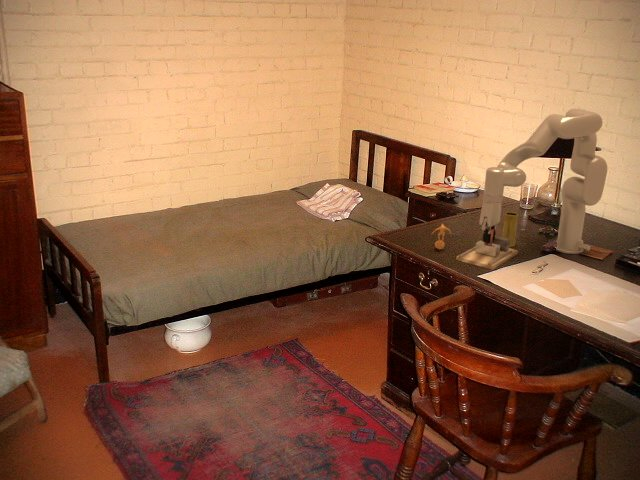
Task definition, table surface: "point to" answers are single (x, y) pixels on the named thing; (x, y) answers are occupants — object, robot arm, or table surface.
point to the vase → (510, 227)
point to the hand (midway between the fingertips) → (488, 240)
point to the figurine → (440, 243)
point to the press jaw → (488, 247)
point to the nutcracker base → (488, 260)
